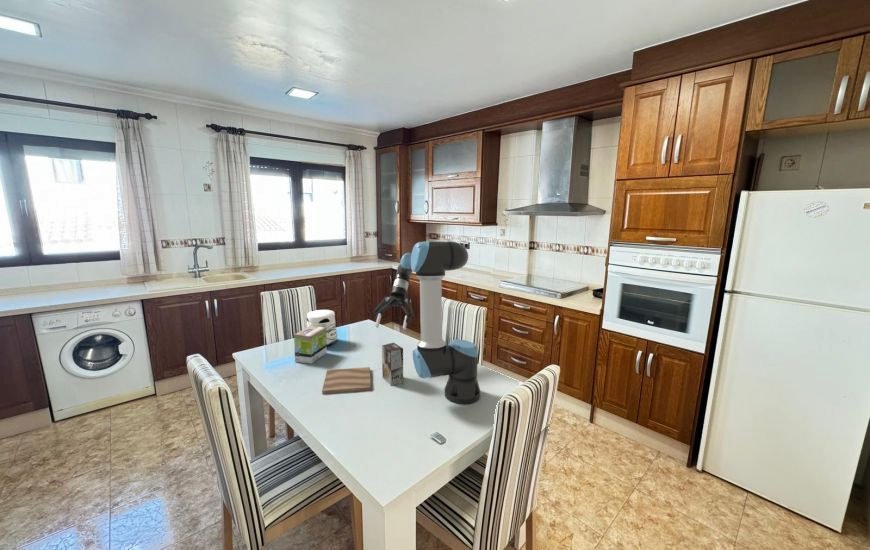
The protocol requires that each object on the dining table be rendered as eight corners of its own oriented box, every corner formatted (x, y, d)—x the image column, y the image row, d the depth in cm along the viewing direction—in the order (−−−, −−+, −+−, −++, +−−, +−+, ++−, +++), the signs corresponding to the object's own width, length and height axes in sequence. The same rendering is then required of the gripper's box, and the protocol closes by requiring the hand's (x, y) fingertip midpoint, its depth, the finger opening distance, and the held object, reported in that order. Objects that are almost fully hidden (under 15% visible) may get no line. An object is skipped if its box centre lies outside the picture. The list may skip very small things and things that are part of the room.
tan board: (370, 390, 152) (370, 387, 151) (322, 393, 148) (322, 390, 148) (370, 370, 171) (370, 367, 171) (327, 372, 167) (327, 369, 167)
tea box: (312, 364, 176) (311, 336, 174) (294, 362, 178) (292, 334, 176) (327, 352, 191) (326, 326, 188) (310, 351, 193) (309, 325, 190)
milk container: (337, 347, 199) (336, 316, 196) (305, 350, 194) (303, 318, 191) (337, 337, 215) (336, 308, 212) (307, 339, 210) (305, 310, 207)
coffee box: (403, 382, 159) (403, 348, 156) (390, 386, 156) (390, 351, 153) (394, 374, 167) (394, 342, 164) (381, 377, 163) (381, 344, 160)
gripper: (424, 295, 180) (416, 333, 168) (378, 291, 185) (367, 328, 174) (422, 287, 174) (414, 326, 162) (374, 284, 179) (363, 322, 167)
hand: (390, 327), depth 168 cm, fingers open, 13 cm apart
